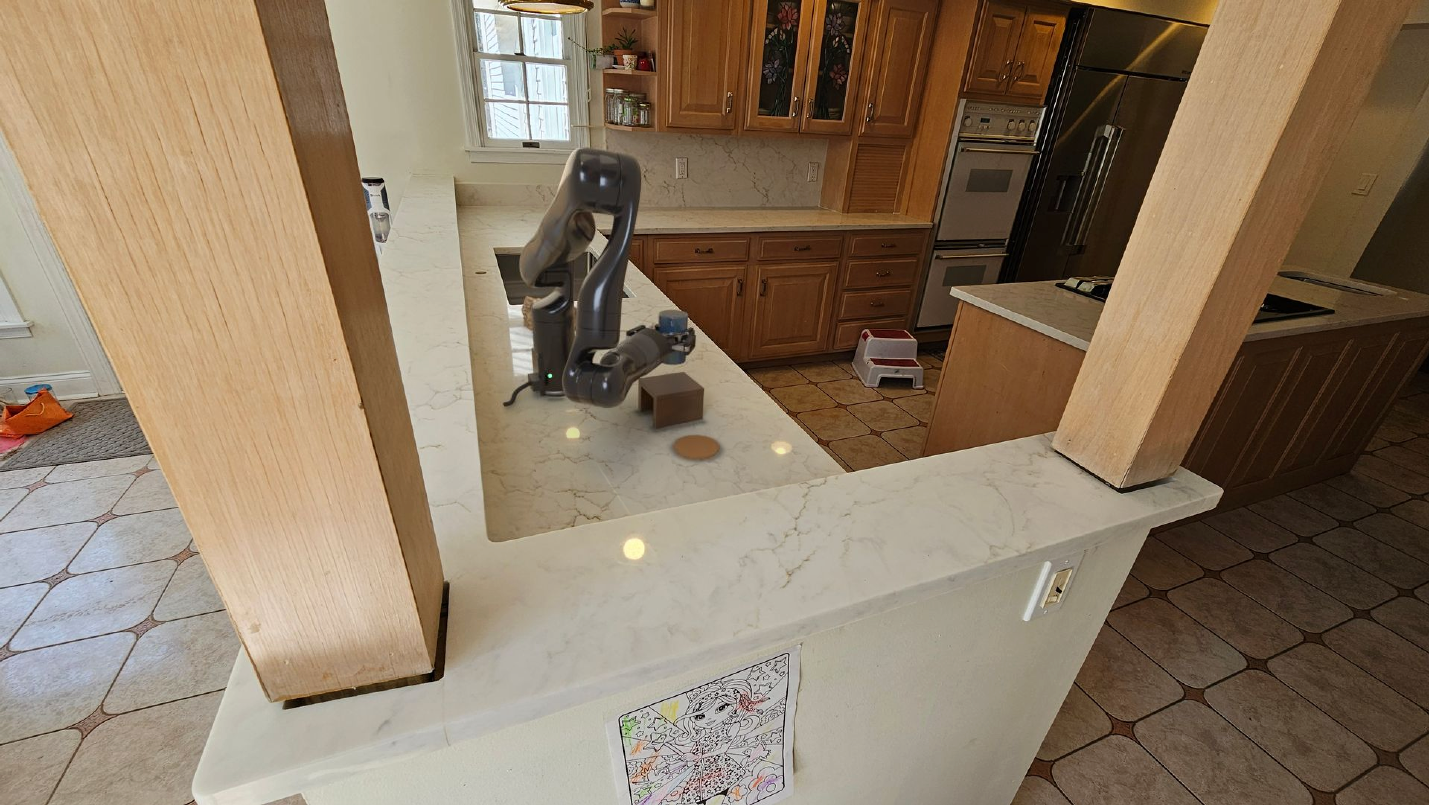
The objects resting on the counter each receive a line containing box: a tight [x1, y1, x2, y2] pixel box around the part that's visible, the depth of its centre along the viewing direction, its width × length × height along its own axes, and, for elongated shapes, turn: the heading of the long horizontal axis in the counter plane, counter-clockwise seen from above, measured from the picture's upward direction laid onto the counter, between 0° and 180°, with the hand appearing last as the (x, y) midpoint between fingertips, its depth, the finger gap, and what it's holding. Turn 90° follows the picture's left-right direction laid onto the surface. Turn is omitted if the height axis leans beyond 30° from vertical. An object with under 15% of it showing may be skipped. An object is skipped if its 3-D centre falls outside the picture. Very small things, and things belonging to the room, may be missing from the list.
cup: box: [657, 309, 689, 366], centre depth 126 cm, size 6×6×10 cm
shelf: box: [637, 371, 705, 430], centre depth 132 cm, size 11×10×8 cm
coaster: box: [673, 434, 720, 461], centre depth 122 cm, size 9×9×1 cm
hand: (677, 329), depth 128 cm, fingers closed on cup, 6 cm apart
